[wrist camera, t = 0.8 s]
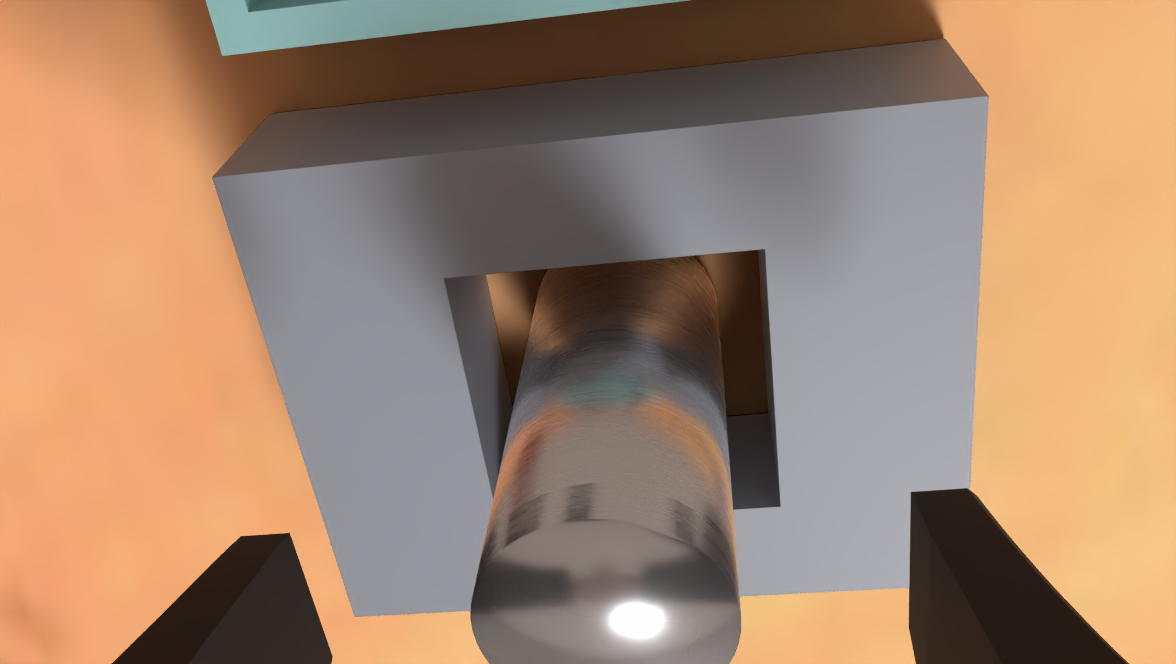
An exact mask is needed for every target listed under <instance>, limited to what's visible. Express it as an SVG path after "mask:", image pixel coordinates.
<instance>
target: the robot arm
mask: <svg viewBox="0 0 1176 664" xmlns="http://www.w3.org/2000/svg"><path fill="white" fill-rule="evenodd" d="M909 630H910V635H911V640H912V645H913V650H914V655H915V661H916V664H1129V663H1128V662H1127V661H1126V660H1125V659H1123V658H1122V657H1121V656H1120V655H1119V654H1118V653H1117V652H1116V651H1115V650H1114V649H1113V648H1112V647H1111V646H1110V645H1109V644H1108V643H1107V642H1106V641H1105V640H1104V639H1103V638H1102V637H1101V636H1100V635H1099V634H1098V633H1097V632H1096V631H1095V630H1094V629H1093V628H1092V627H1091V626H1090V625H1089V624H1088V623H1087V622H1086V621H1085V620H1084V618H1083V617H1082V616H1081V615H1080V614H1079V613H1078V612H1077V611H1076V610H1075V609H1074V608H1073V607H1072V606H1071V605H1070V604H1069V603H1068V602H1067V601H1066V600H1065V599H1064V598H1063V596H1062V595H1061V594H1060V593H1059V592H1058V591H1057V590H1056V589H1055V588H1054V587H1053V586H1052V585H1051V584H1050V582H1049V581H1048V580H1047V579H1046V578H1045V577H1044V576H1043V575H1042V574H1041V573H1040V571H1039V570H1038V569H1037V568H1036V567H1035V566H1034V565H1033V563H1032V562H1031V561H1030V560H1029V559H1028V558H1027V556H1026V555H1025V554H1024V553H1023V552H1022V551H1021V550H1020V548H1019V547H1018V546H1017V545H1016V544H1015V543H1014V541H1013V540H1012V539H1011V538H1010V537H1009V535H1008V534H1007V533H1006V532H1005V531H1004V529H1003V528H1002V527H1001V526H1000V524H999V523H998V522H997V521H996V519H995V518H994V517H993V516H992V514H991V513H990V512H989V511H988V509H987V508H986V507H985V506H984V504H983V503H982V502H981V500H980V499H979V498H978V497H977V496H976V495H975V494H974V493H973V492H972V491H970V490H969V489H968V488H962V489H947V490H932V491H917V492H911V512H910V582H909ZM331 662H332V654H331V651H330V648H329V645H328V642H327V639H326V637H325V634H324V631H323V628H322V625H321V622H320V619H319V616H318V614H317V611H316V608H315V605H314V602H313V599H312V596H311V593H310V590H309V588H308V585H307V582H306V579H305V576H304V573H303V570H302V567H301V565H300V562H299V559H298V556H297V553H296V550H295V547H294V544H293V541H292V539H291V536H290V533H284V534H269V535H254V536H241V537H240V538H239V539H238V540H237V541H235V542H234V543H233V544H232V545H231V546H230V547H229V548H228V549H227V550H226V551H225V552H224V553H223V554H222V555H221V556H220V557H219V558H218V559H217V560H216V561H215V562H214V563H213V564H212V565H211V566H210V567H209V568H208V569H207V570H206V571H205V572H204V573H203V574H202V575H201V576H200V577H199V578H198V579H197V580H196V581H195V582H194V583H193V584H192V585H191V586H190V587H189V588H188V589H187V590H186V591H185V592H184V593H183V594H182V595H181V596H180V597H179V598H178V599H177V600H176V601H175V602H174V603H173V604H172V605H171V606H170V607H169V608H168V609H167V610H166V611H165V612H164V613H163V614H162V615H161V616H160V617H159V618H158V619H157V620H156V621H155V622H154V623H153V624H152V625H151V626H150V627H149V628H148V629H147V630H146V631H145V632H144V633H143V634H142V635H141V636H139V637H138V638H137V639H136V640H135V641H134V642H133V643H132V644H131V645H130V646H129V647H128V648H127V649H126V650H125V651H124V652H123V653H122V654H121V655H120V656H119V657H118V658H117V659H116V660H115V661H114V662H113V663H112V664H331Z"/></svg>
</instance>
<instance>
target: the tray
mask: <svg viewBox="0 0 1176 664" xmlns="http://www.w3.org/2000/svg"><path fill="white" fill-rule="evenodd" d="M205 1H206V4H207V7H208V11H209V14H210V17H211V20H212V24H213V27H214V30H215V34H216V37H217V40H218V44H219V47H220V50H221V54H222V56H227V55H235V54H243V53H252V52H260V51H269V50H277V49H285V48H294V47H302V46H311V45H319V44H328V43H336V42H344V41H353V40H361V39H370V38H378V37H386V36H395V35H403V34H412V33H420V32H428V31H437V30H445V29H454V28H462V27H471V26H479V25H487V24H496V23H504V22H513V21H521V20H529V19H538V18H546V17H555V16H563V15H571V14H580V13H588V12H597V11H605V10H614V9H622V8H630V7H639V6H647V5H656V4H664V3H672V2H681V1H689V0H205Z"/></svg>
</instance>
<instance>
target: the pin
mask: <svg viewBox="0 0 1176 664" xmlns="http://www.w3.org/2000/svg"><path fill="white" fill-rule="evenodd" d="M471 624H472V630H473V633H474V636H475V639H476V642H477V644H478V646H479V648H480V650H481V652H482V654H483V655H484V657H485V658H486V659H487V661H488V662H489V664H729V663H730V661H731V660H732V658H733V656H734V654H735V651H736V649H737V646H738V643H739V638H740V633H741V610H740V596H739V583H738V569H737V556H736V542H735V529H734V515H733V502H732V488H731V475H730V461H729V448H728V434H727V421H726V407H725V394H724V380H723V367H722V353H721V339H720V326H719V312H718V302H717V296H716V292H715V289H714V286H713V284H712V282H711V279H710V277H709V275H708V274H707V272H706V271H705V269H704V268H703V266H702V265H701V264H700V263H699V262H698V261H697V260H696V258H695V257H694V256H683V257H672V258H661V259H650V260H639V261H628V262H617V263H606V264H595V265H583V266H572V267H561V268H550V269H548V270H547V272H546V274H545V275H544V277H543V279H542V282H541V284H540V287H539V290H538V295H537V300H536V304H535V309H534V313H533V318H532V323H531V327H530V332H529V336H528V341H527V346H526V350H525V355H524V360H523V364H522V369H521V373H520V378H519V383H518V387H517V392H516V397H515V401H514V406H513V410H512V415H511V420H510V424H509V429H508V434H507V438H506V443H505V447H504V452H503V457H502V461H501V466H500V471H499V475H498V480H497V484H496V489H495V494H494V498H493V503H492V508H491V512H490V517H489V521H488V526H487V531H486V535H485V540H484V545H483V549H482V554H481V558H480V563H479V568H478V572H477V577H476V582H475V586H474V591H473V596H472V601H471Z"/></svg>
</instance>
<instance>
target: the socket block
mask: <svg viewBox="0 0 1176 664" xmlns="http://www.w3.org/2000/svg"><path fill="white" fill-rule="evenodd" d="M988 97H989V96H988V95H987V93H986V92H985V91H984V89H983V88H982V87H981V85H980V84H979V83H978V81H977V80H976V79H975V77H974V76H973V75H972V73H971V72H970V71H969V69H968V68H967V67H966V65H965V64H964V63H963V62H962V60H961V59H960V58H959V56H958V55H957V54H956V52H955V51H954V50H953V48H952V47H951V46H950V44H949V43H948V42H947V40H946V39H937V40H928V41H919V42H910V43H901V44H892V45H883V46H874V47H866V48H857V49H848V50H839V51H830V52H821V53H812V54H803V55H794V56H785V57H776V58H767V59H758V60H749V61H740V62H731V63H722V64H713V65H704V66H695V67H686V68H677V69H668V70H659V71H650V72H641V73H632V74H623V75H614V76H605V77H597V78H588V79H579V80H570V81H561V82H552V83H543V84H534V85H525V86H516V87H507V88H498V89H489V90H480V91H471V92H462V93H453V94H444V95H435V96H426V97H417V98H408V99H399V100H390V101H381V102H372V103H363V104H354V105H345V106H336V107H328V108H319V109H310V110H301V111H292V112H283V113H274V114H270V115H269V116H268V117H267V118H266V119H265V120H264V121H263V122H262V124H261V125H260V126H259V127H258V128H257V129H256V130H255V131H254V132H253V133H252V134H251V136H250V137H249V138H248V139H247V140H246V141H245V142H244V143H243V144H242V145H241V146H240V148H239V149H238V150H237V151H236V152H235V153H234V154H233V155H232V156H231V157H230V159H229V160H228V161H227V162H226V163H225V164H224V165H223V166H222V167H221V168H220V169H219V171H218V172H217V173H216V174H215V175H214V176H213V177H212V179H213V182H214V185H215V188H216V191H217V194H218V197H219V200H220V203H221V206H222V209H223V212H224V216H225V219H226V222H227V225H228V228H229V231H230V234H231V237H232V240H233V243H234V246H235V249H236V253H237V256H238V259H239V262H240V265H241V268H242V271H243V274H244V277H245V280H246V283H247V286H248V290H249V293H250V296H251V299H252V302H253V305H254V308H255V311H256V314H257V317H258V320H259V323H260V327H261V330H262V333H263V336H264V339H265V342H266V345H267V348H268V351H269V354H270V357H271V360H272V364H273V367H274V370H275V373H276V376H277V379H278V382H279V385H280V388H281V391H282V394H283V397H284V401H285V404H286V407H287V410H288V413H289V416H290V419H291V422H292V425H293V428H294V431H295V434H296V438H297V441H298V444H299V447H300V450H301V453H302V456H303V459H304V462H305V465H306V468H307V471H308V475H309V478H310V481H311V484H312V487H313V490H314V493H315V496H316V499H317V502H318V505H319V508H320V512H321V515H322V518H323V521H324V524H325V527H326V530H327V533H328V536H329V539H330V542H331V545H332V549H333V552H334V555H335V558H336V561H337V564H338V567H339V570H340V573H341V576H342V579H343V582H344V586H345V589H346V592H347V595H348V598H349V601H350V604H351V607H352V610H353V613H354V616H355V617H362V616H381V615H400V614H418V613H437V612H456V611H471V601H472V596H473V591H474V586H475V582H476V577H477V572H478V568H479V563H480V558H481V554H482V549H483V545H484V540H485V535H486V531H487V526H488V521H489V517H490V512H491V508H492V503H493V498H494V494H495V489H496V484H497V480H498V475H499V471H500V466H501V461H502V457H503V452H504V447H505V443H506V438H507V434H508V429H509V424H510V420H511V415H512V410H513V407H512V402H511V397H510V392H509V387H508V382H507V377H506V372H505V367H504V362H503V357H502V352H501V347H500V342H499V338H498V333H497V328H496V323H495V318H494V313H493V308H492V303H491V298H490V293H489V288H488V283H487V278H486V274H495V273H506V272H517V271H528V270H539V269H550V268H561V267H572V266H583V265H595V264H606V263H617V262H628V261H639V260H650V259H661V258H672V257H683V256H694V255H705V254H716V253H727V252H738V251H749V250H758V259H759V274H760V290H761V305H762V321H763V337H764V352H765V368H766V384H767V399H768V414H755V415H741V416H727V417H726V421H727V434H728V448H729V461H730V475H731V488H732V502H733V515H734V529H735V542H736V556H737V569H738V583H739V596H759V595H778V594H797V593H816V592H835V591H854V590H873V589H892V588H909V582H910V512H911V492H917V491H932V490H947V489H962V488H968V489H969V490H970V477H971V456H972V435H973V413H974V392H975V371H976V350H977V329H978V308H979V287H980V266H981V245H982V224H983V202H984V181H985V160H986V139H987V118H988Z"/></svg>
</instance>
